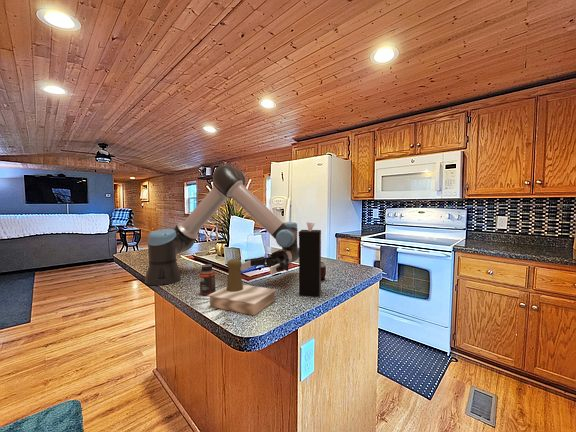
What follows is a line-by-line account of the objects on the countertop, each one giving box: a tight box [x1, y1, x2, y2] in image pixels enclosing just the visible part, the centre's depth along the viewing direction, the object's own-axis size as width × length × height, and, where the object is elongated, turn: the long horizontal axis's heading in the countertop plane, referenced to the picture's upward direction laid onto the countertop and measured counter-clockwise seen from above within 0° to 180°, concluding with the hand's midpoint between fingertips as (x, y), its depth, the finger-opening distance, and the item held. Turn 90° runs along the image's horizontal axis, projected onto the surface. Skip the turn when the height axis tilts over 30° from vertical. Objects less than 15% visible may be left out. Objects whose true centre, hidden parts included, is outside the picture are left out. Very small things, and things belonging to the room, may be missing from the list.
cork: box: [226, 258, 244, 292], centre depth 97 cm, size 6×6×11 cm
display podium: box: [207, 284, 277, 316], centre depth 94 cm, size 19×15×4 cm
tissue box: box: [298, 222, 322, 297], centre depth 104 cm, size 8×8×28 cm
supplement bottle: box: [199, 263, 217, 296], centre depth 104 cm, size 6×6×11 cm
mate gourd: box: [321, 261, 327, 281], centre depth 122 cm, size 8×8×15 cm
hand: (255, 269), depth 100 cm, fingers open, 13 cm apart
